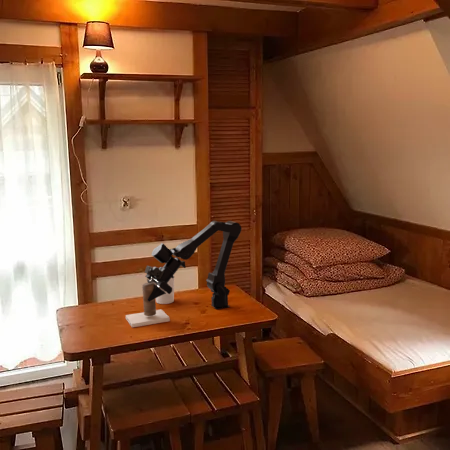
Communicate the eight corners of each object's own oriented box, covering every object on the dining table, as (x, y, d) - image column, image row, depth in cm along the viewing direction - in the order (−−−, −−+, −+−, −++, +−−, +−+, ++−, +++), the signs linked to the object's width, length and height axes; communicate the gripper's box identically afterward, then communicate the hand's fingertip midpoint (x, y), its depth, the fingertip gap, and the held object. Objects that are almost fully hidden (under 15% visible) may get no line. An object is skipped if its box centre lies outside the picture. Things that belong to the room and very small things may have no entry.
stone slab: (161, 312, 235) (161, 309, 235) (169, 320, 224) (169, 317, 224) (125, 318, 229) (125, 315, 229) (132, 327, 218) (131, 323, 218)
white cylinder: (157, 298, 257) (156, 273, 254) (177, 298, 255) (176, 273, 253) (152, 304, 247) (150, 279, 245) (172, 304, 246) (171, 279, 244)
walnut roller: (156, 311, 228) (154, 282, 226) (155, 315, 223) (153, 285, 221) (144, 312, 228) (142, 282, 226) (143, 316, 223) (141, 286, 221)
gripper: (148, 254, 232) (125, 283, 229) (163, 263, 215) (138, 293, 212) (166, 269, 236) (144, 297, 233) (182, 278, 220) (158, 309, 217)
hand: (146, 299), depth 224 cm, fingers open, 5 cm apart
